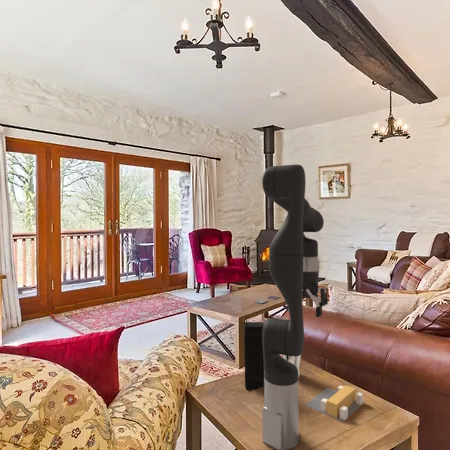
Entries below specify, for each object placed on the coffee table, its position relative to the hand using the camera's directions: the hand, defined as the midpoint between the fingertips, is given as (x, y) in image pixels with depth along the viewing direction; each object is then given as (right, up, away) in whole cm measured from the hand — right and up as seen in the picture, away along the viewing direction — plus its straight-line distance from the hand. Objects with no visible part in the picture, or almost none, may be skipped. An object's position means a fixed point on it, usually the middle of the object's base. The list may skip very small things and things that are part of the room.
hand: (307, 314), depth 124 cm
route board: (+6, -27, -12) cm, 30 cm away
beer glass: (-4, -26, +8) cm, 28 cm away
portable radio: (-18, -26, +2) cm, 32 cm away
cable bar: (+7, -26, -14) cm, 30 cm away
